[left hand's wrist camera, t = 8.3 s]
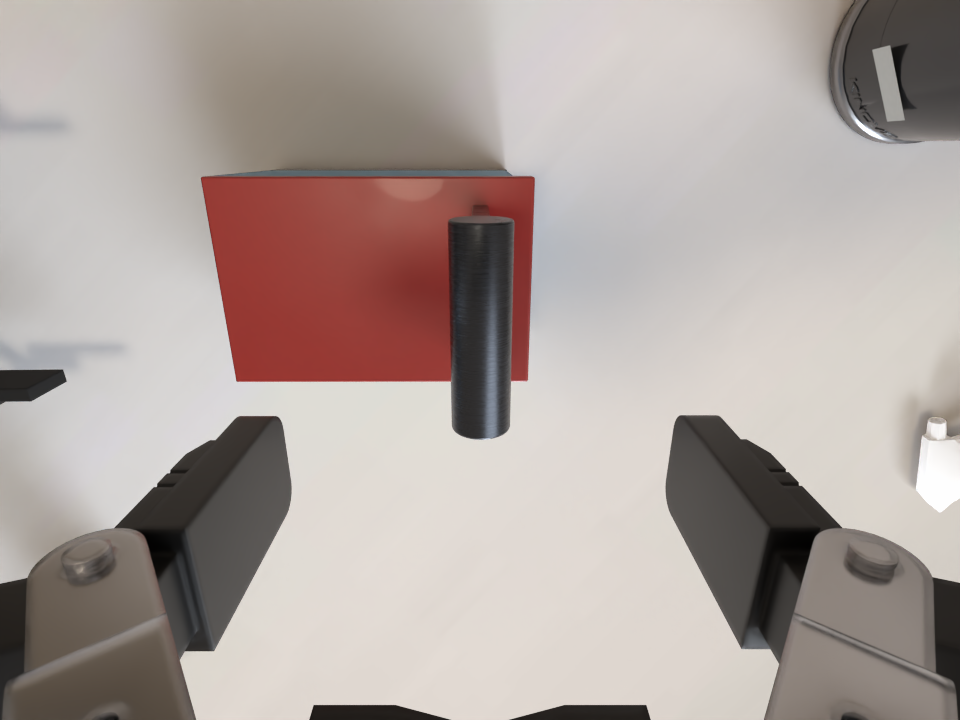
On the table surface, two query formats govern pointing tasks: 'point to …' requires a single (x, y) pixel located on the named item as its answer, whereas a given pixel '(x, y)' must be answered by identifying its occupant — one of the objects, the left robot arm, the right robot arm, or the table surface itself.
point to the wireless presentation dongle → (939, 465)
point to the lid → (379, 282)
